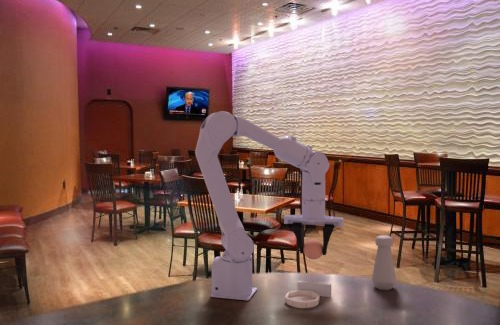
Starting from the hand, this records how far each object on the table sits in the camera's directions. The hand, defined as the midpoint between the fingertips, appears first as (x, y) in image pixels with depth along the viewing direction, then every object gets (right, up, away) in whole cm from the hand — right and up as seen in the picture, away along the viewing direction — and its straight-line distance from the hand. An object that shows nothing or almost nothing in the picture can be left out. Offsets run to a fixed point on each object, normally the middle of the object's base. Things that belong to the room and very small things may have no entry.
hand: (313, 253), depth 116 cm
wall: (0, -9, -5) cm, 10 cm away
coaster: (-4, -9, -9) cm, 14 cm away
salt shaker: (+18, -9, 0) cm, 20 cm away
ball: (0, -2, 0) cm, 2 cm away
